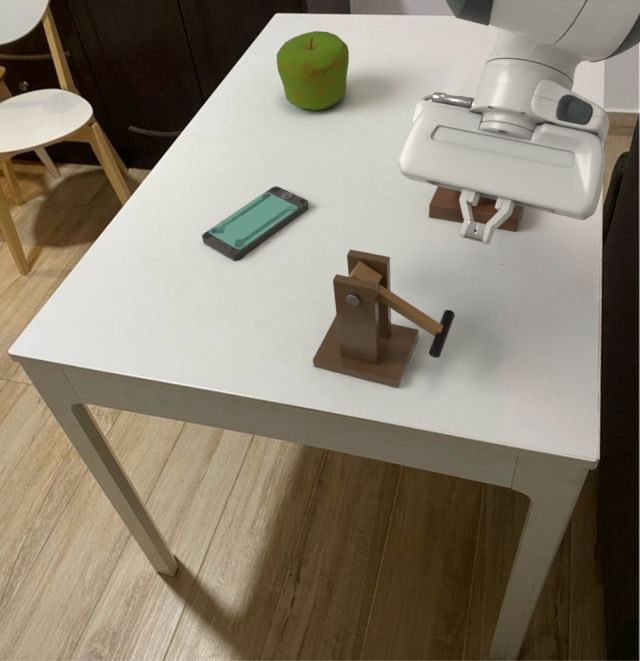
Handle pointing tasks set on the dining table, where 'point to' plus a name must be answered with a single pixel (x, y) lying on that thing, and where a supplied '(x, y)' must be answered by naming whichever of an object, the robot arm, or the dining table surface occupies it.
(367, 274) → the switch lever
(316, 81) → the apple
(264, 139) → the dining table surface
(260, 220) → the smartphone
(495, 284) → the dining table surface
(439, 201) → the button block
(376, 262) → the switch bracket
